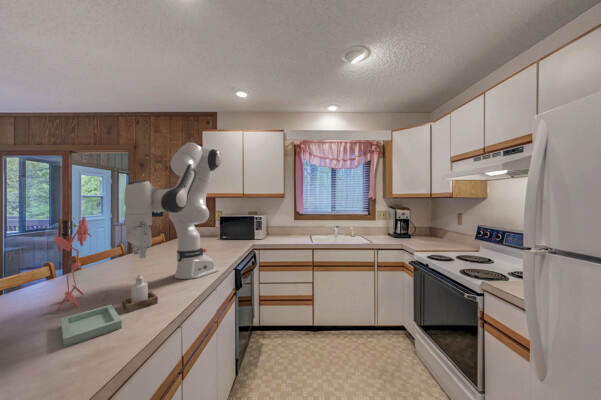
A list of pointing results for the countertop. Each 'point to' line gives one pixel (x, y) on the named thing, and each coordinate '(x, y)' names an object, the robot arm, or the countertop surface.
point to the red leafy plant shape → (64, 244)
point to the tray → (89, 325)
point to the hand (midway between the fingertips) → (139, 256)
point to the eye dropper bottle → (139, 290)
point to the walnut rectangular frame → (137, 305)
